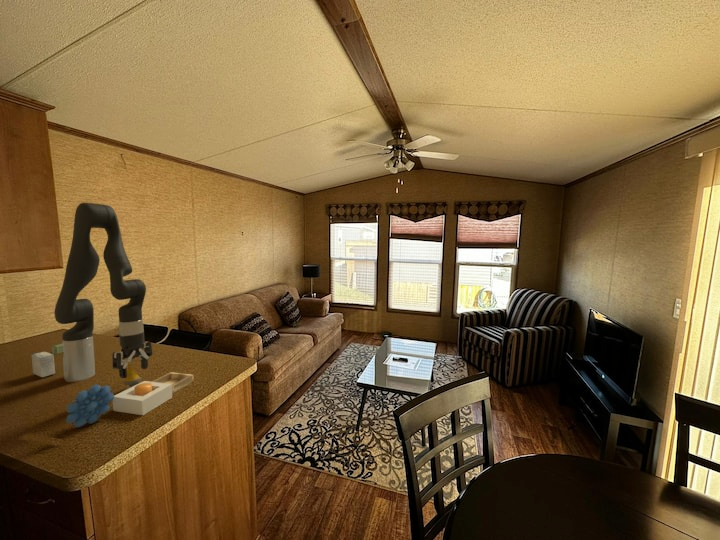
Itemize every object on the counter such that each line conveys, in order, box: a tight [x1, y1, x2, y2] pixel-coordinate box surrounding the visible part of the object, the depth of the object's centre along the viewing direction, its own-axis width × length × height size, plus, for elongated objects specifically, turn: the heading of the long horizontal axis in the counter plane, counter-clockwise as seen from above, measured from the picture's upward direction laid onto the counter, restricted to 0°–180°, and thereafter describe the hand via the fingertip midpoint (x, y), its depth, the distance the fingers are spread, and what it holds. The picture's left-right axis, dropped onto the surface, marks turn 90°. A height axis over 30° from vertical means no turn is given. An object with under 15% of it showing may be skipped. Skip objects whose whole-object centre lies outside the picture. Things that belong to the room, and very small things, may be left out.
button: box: [134, 383, 152, 396], centre depth 107 cm, size 5×5×4 cm
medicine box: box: [31, 351, 56, 378], centre depth 129 cm, size 8×4×9 cm, turn 65°
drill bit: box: [123, 364, 142, 388], centre depth 117 cm, size 5×5×10 cm
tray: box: [151, 371, 195, 395], centre depth 120 cm, size 11×11×3 cm
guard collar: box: [112, 380, 173, 416], centre depth 107 cm, size 12×12×5 cm
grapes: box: [65, 384, 115, 428], centre depth 96 cm, size 12×7×12 cm, turn 145°
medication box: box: [51, 342, 64, 355], centre depth 157 cm, size 12×3×4 cm, turn 166°
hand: (134, 373), depth 117 cm, fingers open, 8 cm apart
